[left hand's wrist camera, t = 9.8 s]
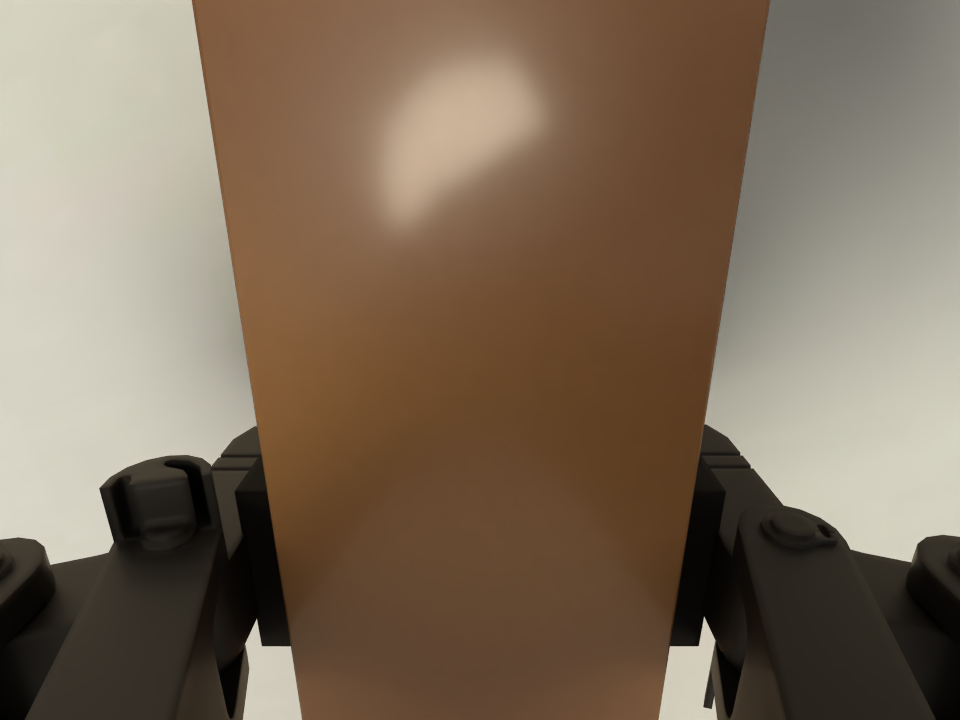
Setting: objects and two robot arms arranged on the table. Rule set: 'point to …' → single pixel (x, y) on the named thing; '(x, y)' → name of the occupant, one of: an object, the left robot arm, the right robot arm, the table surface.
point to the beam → (480, 331)
